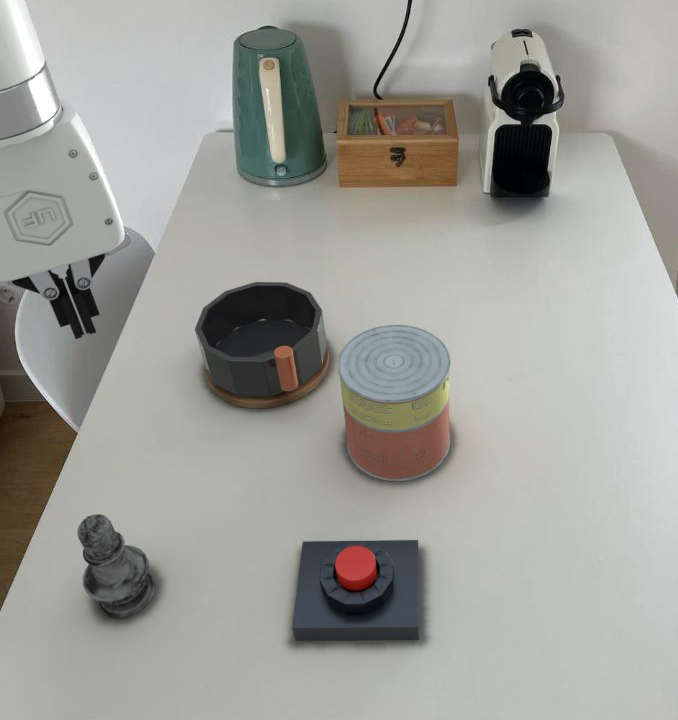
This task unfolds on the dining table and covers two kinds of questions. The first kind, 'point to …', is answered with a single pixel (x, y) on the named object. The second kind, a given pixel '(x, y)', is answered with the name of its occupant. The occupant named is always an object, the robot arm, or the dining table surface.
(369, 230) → the dining table surface
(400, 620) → the button box
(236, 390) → the saucepan
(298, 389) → the trivet
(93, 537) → the grey chess pawn
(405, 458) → the canned food
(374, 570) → the button
